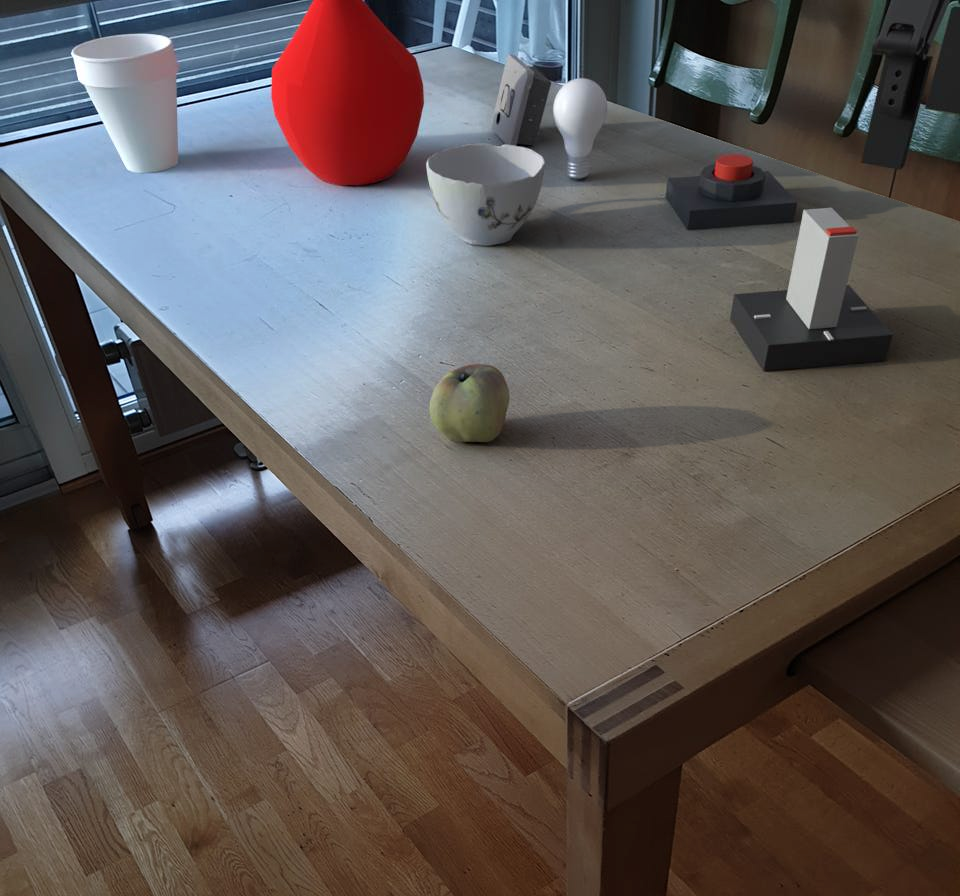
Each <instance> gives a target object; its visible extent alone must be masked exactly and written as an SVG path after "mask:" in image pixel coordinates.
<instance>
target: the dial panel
mask: <svg viewBox="0 0 960 896" xmlns="http://www.w3.org/2000/svg"><path fill="white" fill-rule="evenodd" d="M787 292H788V289H781V290H780V289H779V290H769V291H768V290H767V291H757V292H744V293H734V294H733V298H732V304H731V311H730V317H729V320H730V321H731V323H732V324H733V326H734V328H735V329H736V331H737V332H738V334H739V336H740V337H741V338H742V340H743V342H744V343H745V345H746V347H747V348H748V349H749V352H750V353H751V354H752V356H753V357H754V359H755V360H756V362H757V363H758V365H759V367H760V369H761V370H762V372H771V371H782V370H783V371H785V370H794V369H795V370H796V369H807V368H817V367H818V368H819V367H830V366H843V365H853V364H866V363H876V362H885V361H886V360H887V357H888V354H889V349H890V346H891V342H892V339H893V333H892V332H891V331H890V330H889V329H888V327H887V326H886V325H885V324H884V323H883V322H882V321H881V320H880V319H879V317H878V316H877V315H876V314H875V313H874V311H872V309H871V308H870V307H869V306H868V305H867V304H866V302H865V301H864V300H863V299H862V298H861V297H860V296H859V294H858V293H857V292H856V291H855V290H854V289H853V288H852V286H850V285H849V284H847V285H846V290H845V294H844V298H843V302H842V306H841V310H840V314H839V319H838V323H837V327H832V328H820V329H808V328H807V326H806V325H805V324H804V322H803V321H802V320H801V318H800V317H799V316H798V314H797V313H796V312H795V310H794V309H793V308H792V306H791V305H790V304H789V302H788V301H787V300H786V297H787Z"/></svg>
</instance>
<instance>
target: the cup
mask: <svg viewBox="0 0 960 896" xmlns="http://www.w3.org/2000/svg"><path fill="white" fill-rule="evenodd" d="M70 55H71V56H72V59H73V62H74V67H75V71H76V75H77V79H78V81H79V82H80V84H82V85H83V86H84V88H85V90H86V92H87V94H88V96H89V98H90V100H91V102H92V104H93V106H94V107H95V110H96V111H97V113H98V116H99V117H100V120H101V121H102V124H103V125H104V127H105V129H106V131H107V133H108V135H109V137H110V139H111V142H112V143H113V144H114V145H113V146H114V147H115V148H116V151H117V153H118V155H119V156H120V158H121V161H122V163H123V164H124V166H125V168H126V170H127V171H129V172H132V173H136V174H150V173H151V174H152V173H158V172H163V171H165V170H169V169H171V168H173V167H175V166H176V165H178V163H179V136H178V132H179V131H178V87H177V86H178V85H177V73H178V72H179V71H180V66H179V63H178V60H177V56H176V52H175V49H174V42H173V39H171V38H170V37H168V36H165V35H160V34H153V33H152V34H151V33H127V34H116V35H110V36H104V37H100V38H94V39H91V40H88V41H85V42H83V43H80V44H78V45H76V46H75V47H74V48H72V50H71V54H70Z"/></svg>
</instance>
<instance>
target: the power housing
mask: <svg viewBox="0 0 960 896" xmlns="http://www.w3.org/2000/svg"><path fill="white" fill-rule="evenodd" d="M715 166H716V163H713V164H710V165H707V166H704V167H703V169H702V170H701V171H700V173H699V175H695V176H683V177H681V176H680V177H668V178H667V179H666V188H665V199H666V200H667V202H668V204H669V205H670V206H671V208H672V210H673V211H674V213H675V214H676V216H677V217H678V218H679V220H680V221H681V223H682V225H683V226H684V227H685V229H686V230H687V232H689V231H701V230H712V229H713V230H714V229H727V228H737V227H750V226H763V225H777V224H790V223H794V222H795V217H796V212H797V208H798V202H797V201H796V199H795V198H794V197H793V196H792V195H791V194H790V192H788V190H787V189H786V188H785V187H784V186H783V185H782V184H781V183H780V182H779V181H778V180H777V179H776V178H775V176H774V175H773V174H772V173H771V172H770V171H769V170H764V171H763V169H762V168H761V167H758V166H755V165H753V166H752V173H751V178H749V179H746V180H739V181H730V180H722V179H719V178H716V177H714V174H715Z"/></svg>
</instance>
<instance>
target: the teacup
mask: <svg viewBox="0 0 960 896" xmlns="http://www.w3.org/2000/svg"><path fill="white" fill-rule="evenodd" d="M425 165H426V174H427V181H428V184H429V189H430V191H431V195H432V198H433V201H434V203H435V206H436V207H437V210H438V212H439V213H440V215H441V217H442V218H443V219H444V221H445V222H446V224H447V225H448V226H449V227H450V228H451V229H452V230H453V231H454V232H455V233H456V234H457V235H459V237H460V239H461V240H462V241H463V242H465V243H466V244H469V245H473V246H474V245H475V246H485V247H486V246H488V247H489V246H490V247H491V246H493V245H499V244H505V243H507V242H509V241H510V242H511V240H512V238H513V237H514V234H515V233H517V232H518V231H519V230H520V229H521V227H522V226H523V225H524V224H525V223H526V221H527V220H528V218H529V217H530V215H531V214H532V212H533V210H534V208H535V206H536V203H537V201H538V198H539V196H540V193H541V188H542V184H543V180H544V175H545V167H546V161H545V158H544V156H542V155H541V154H540V153H538V152H536V151H535V150H534V149H530V148H528V147H525V146H518V145H516V146H513V145H507V144H505V143H504V144H502V145H495V144H492V143H468V144H463V145H460V146H457V147H451V148H447V149H445V150H439V151H436V152H435V153H433V155H432V156H429V157H428V158H427V161H426V163H425Z"/></svg>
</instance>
